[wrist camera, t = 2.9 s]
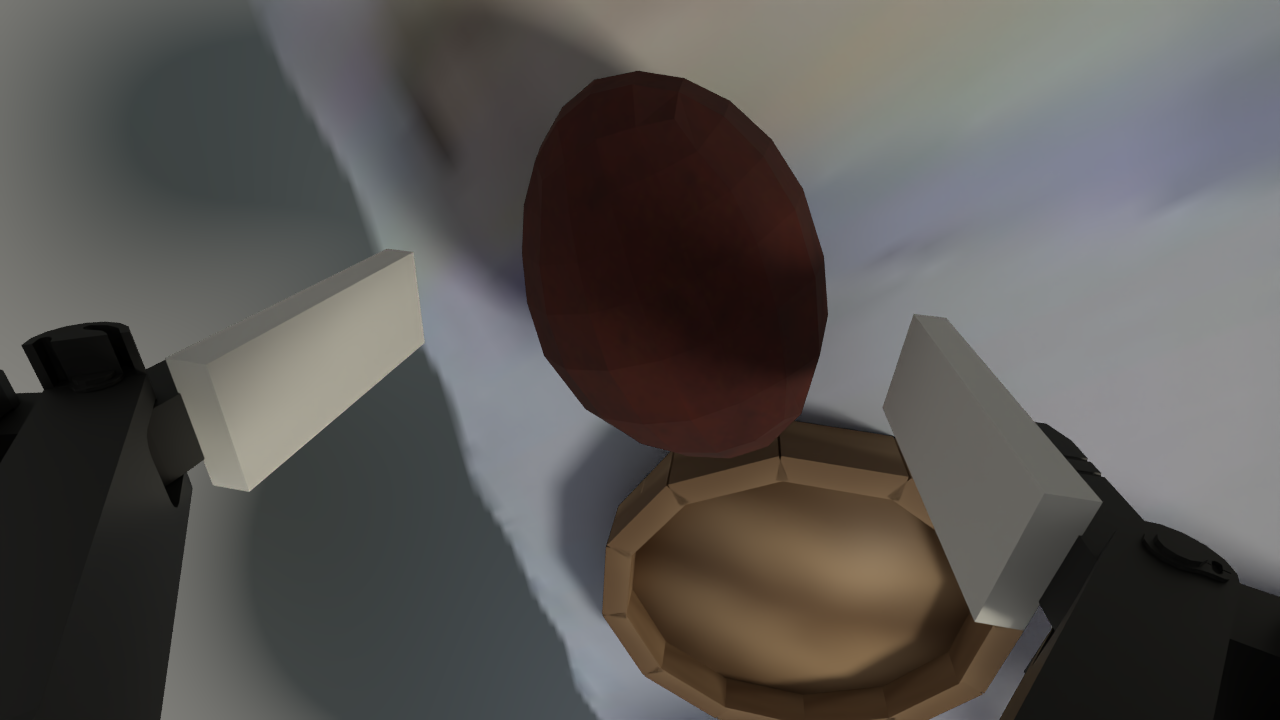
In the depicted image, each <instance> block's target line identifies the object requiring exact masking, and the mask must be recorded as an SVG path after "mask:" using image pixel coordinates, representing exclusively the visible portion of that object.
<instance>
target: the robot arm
mask: <svg viewBox="0 0 1280 720" xmlns="http://www.w3.org/2000/svg"><path fill="white" fill-rule="evenodd" d="M424 343H425V342H424V334H423V326H422V318H421V310H420V302H419V294H418V286H417V278H416V270H415V262H414V254H413V252H409V251H400V250H392V249H386V250H384V251H382V252H380V253H378V254H375V255H374V256H371V257H369V258H367V259H365V260H363V261H361V262H359V263H357V264H355V265H353V266H351V267H349V268H347V269H345V270H343V271H341V272H339V273H337V274H335V275H333V276H331V277H329V278H327V279H325V280H323V281H321V282H319V283H317V284H315V285H313V286H311V287H309V288H307V289H304V290H303V291H300V292H298V293H297V294H294V295H292V296H290V297H288V298H286V299H284V300H282V301H280V302H278V303H276V304H274V305H272V306H270V307H268V308H266V309H264V310H262V311H260V312H258V313H256V314H254V315H252V316H250V317H248V318H246V319H244V320H242V321H240V322H238V323H235V324H234V325H231V326H229V327H228V328H225V329H223V330H221V331H219V332H217V333H215V334H213V335H211V336H209V337H207V338H205V339H203V340H201V341H199V342H197V343H195V344H193V345H191V346H189V347H187V348H185V349H183V350H181V351H179V352H177V353H175V354H173V355H171V356H168V357H167V358H165V359H166V360H164V361H162V362H160V363H158V364H156V365H154V366H152V367H150V368H148V369H145V367H144V364H143V362H142V359H141V357H140V354H139V352H138V349H137V347H136V344H135V342H134V339H133V337H132V334H131V332H130V329H129V327H128V326H126V325H124V324H121V323H114V322H93V323H83V324H77V325H71V326H66V327H62V328H58V329H55V330H51V331H47V332H45V333H42V334H40V335H38V336H35V337H33V338H31V339H29V340H28V341H27V342H25V343H24V344H23V345H22V347H23V349H24V351H25V353H26V355H27V357H28V359H29V361H30V363H31V365H32V367H33V369H34V371H35V373H36V375H37V377H38V379H39V381H40V383H41V385H42V386H43V388H44V391H43V392H42V393H17V394H16V393H15V392H14V390H13V388H12V386H11V384H10V383H9V381H8V379H7V377H6V375H5V373H4V371H3V370H0V720H160V718H161V711H162V704H163V697H164V689H165V682H166V675H167V668H168V660H169V653H170V646H171V639H172V632H173V624H174V617H175V610H176V603H177V596H178V589H179V581H180V575H181V567H182V560H183V553H184V546H185V539H186V531H187V524H188V517H189V510H190V503H191V495H192V485H191V482H190V479H189V477H188V474H187V471H189V470H190V469H191V468H193V467H194V466H196V465H197V464H198V463H200V462H201V461H202V460H204V463H205V465H206V468H207V471H208V473H209V475H210V479H211V481H212V484H213V485H215V486H220V487H226V488H232V489H237V490H243V491H248V492H250V491H251V490H252V489H253V488H254V487H255V486H257V485H258V484H259V483H260V482H261V481H262V480H264V479H265V478H266V477H267V476H268V475H270V474H271V473H272V472H273V471H274V470H275V469H277V468H278V467H279V466H280V465H281V464H282V463H284V462H285V461H286V460H287V459H288V458H290V457H291V456H292V455H293V454H294V453H295V452H297V451H298V450H299V449H300V448H301V447H303V446H304V445H305V444H306V443H307V442H308V441H310V440H311V439H312V438H313V437H314V436H315V435H317V434H318V433H319V432H320V431H321V430H323V429H324V428H325V427H326V426H327V425H328V424H329V423H331V422H332V421H333V420H334V419H335V418H337V417H338V416H339V415H340V414H341V413H342V412H344V411H345V410H346V409H347V408H348V407H350V406H351V405H352V404H353V403H354V402H355V401H357V400H358V399H359V398H360V397H361V396H362V395H364V394H365V393H366V392H367V391H368V390H369V389H371V388H372V387H373V386H374V385H375V384H376V383H378V382H379V381H380V380H381V379H383V377H385V376H386V375H387V374H388V373H390V372H391V371H392V370H393V369H394V368H395V367H397V366H398V365H399V364H400V363H401V362H402V361H404V360H405V359H406V358H407V357H408V356H410V355H411V354H412V353H413V352H414V351H415V350H417V349H418V348H419V347H420V346H421V345H423V344H424ZM883 410H884V412H885V415H886V417H887V419H888V421H889V424H890V426H891V428H892V431H893V433H894V435H895V438H896V440H897V442H898V445H899V447H900V449H901V452H902V454H903V456H904V459H905V461H906V463H907V466H908V468H909V470H910V473H911V475H912V477H913V480H914V482H915V484H916V487H917V489H918V491H919V494H920V496H921V498H922V501H923V503H924V505H925V508H926V510H927V512H928V515H929V517H930V519H931V522H932V524H933V526H934V528H935V531H936V533H937V535H938V538H939V540H940V542H941V545H942V547H943V549H944V552H945V554H946V556H947V559H948V561H949V563H950V566H951V568H952V570H953V573H954V575H955V577H956V580H957V582H958V584H959V587H960V589H961V591H962V594H963V596H964V598H965V601H966V603H967V605H968V608H969V610H970V612H971V615H972V617H973V619H974V622H978V623H984V624H990V625H995V626H1001V627H1006V628H1012V629H1017V630H1023V631H1024V630H1025V628H1026V627H1027V625H1028V623H1029V622H1030V620H1031V618H1032V617H1033V615H1034V613H1035V612H1036V610H1037V609H1038V607H1039V605H1040V606H1041V607H1042V609H1043V611H1044V613H1045V614H1046V616H1047V618H1048V620H1049V622H1050V623H1051V625H1052V627H1053V628H1052V629H1051V631H1050V632H1049V634H1048V635H1047V637H1046V638H1045V640H1044V641H1043V643H1042V645H1041V646H1040V648H1039V649H1038V651H1037V652H1036V654H1035V655H1034V657H1033V658H1032V660H1031V662H1030V663H1029V665H1028V666H1027V668H1026V669H1025V671H1024V672H1025V675H1024V677H1023V679H1022V680H1021V682H1020V684H1019V686H1018V688H1017V689H1016V691H1015V693H1014V695H1013V696H1012V698H1011V700H1010V702H1009V704H1008V705H1007V707H1006V709H1005V711H1004V712H1003V714H1002V716H1001V718H1000V720H1280V597H1278V596H1275V595H1272V594H1269V593H1266V592H1263V591H1260V590H1257V589H1255V588H1252V587H1249V586H1246V585H1243V584H1240V583H1239V579H1238V575H1237V573H1236V572H1235V571H1234V570H1233V569H1232V568H1231V566H1230V565H1229V564H1228V563H1227V562H1226V561H1225V560H1224V559H1223V558H1222V557H1220V556H1219V555H1218V554H1216V553H1215V552H1214V551H1212V550H1211V549H1210V548H1208V547H1207V546H1206V545H1204V544H1202V543H1200V542H1199V541H1197V540H1195V539H1193V538H1191V537H1189V536H1188V535H1186V534H1184V533H1182V532H1179V531H1176V530H1174V529H1171V528H1169V527H1166V526H1163V525H1161V524H1156V523H1151V522H1147V521H1144V520H1143V519H1142V518H1141V517H1140V516H1139V515H1138V513H1137V512H1136V511H1135V510H1134V509H1133V508H1132V507H1131V506H1130V505H1129V504H1128V502H1127V501H1126V500H1125V499H1124V498H1123V497H1122V496H1121V495H1120V494H1119V493H1118V491H1117V490H1116V489H1115V488H1114V487H1113V486H1112V485H1111V484H1110V483H1109V482H1108V480H1107V479H1106V478H1105V477H1101V473H1100V472H1099V470H1098V469H1097V468H1096V467H1095V466H1094V465H1093V464H1092V463H1091V462H1087V459H1088V458H1087V457H1086V456H1085V455H1084V454H1083V453H1082V452H1081V451H1080V450H1079V448H1078V447H1077V446H1076V445H1075V444H1074V443H1073V442H1072V441H1071V440H1070V439H1068V438H1067V437H1065V436H1064V435H1062V434H1061V433H1059V432H1058V431H1056V430H1055V429H1053V428H1052V427H1050V426H1049V425H1047V424H1045V423H1038V422H1034V421H1033V420H1032V418H1031V417H1030V416H1029V415H1028V414H1027V412H1026V411H1025V410H1024V409H1023V408H1022V407H1021V405H1020V404H1019V403H1018V402H1017V401H1016V400H1015V398H1014V397H1013V396H1012V395H1011V394H1010V392H1009V391H1008V390H1007V389H1006V388H1005V387H1004V385H1003V384H1002V383H1001V382H1000V381H999V380H998V378H997V377H996V376H995V375H994V374H993V373H992V371H991V370H990V369H989V368H988V367H987V365H986V364H985V363H984V362H983V361H982V360H981V358H980V357H979V356H978V355H977V354H976V353H975V351H974V350H973V349H972V348H971V347H970V345H969V344H968V343H967V342H966V341H965V340H964V338H963V337H962V336H961V335H960V334H959V333H958V331H957V330H956V329H955V328H954V327H953V325H952V324H951V323H950V322H949V321H948V320H947V318H942V317H934V316H926V315H918V314H914V315H913V318H912V321H911V324H910V327H909V330H908V333H907V336H906V339H905V342H904V345H903V348H902V351H901V354H900V357H899V360H898V363H897V366H896V369H895V372H894V375H893V378H892V381H891V384H890V387H889V390H888V393H887V396H886V399H885V402H884V405H883Z"/></svg>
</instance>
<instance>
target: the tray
mask: <svg viewBox="0 0 1280 720" xmlns="http://www.w3.org/2000/svg"><path fill="white" fill-rule="evenodd" d="M602 614H603V617H604V618H605V620H606V621H607V623H608V624H609V626H610V627H611V628H612V630H613V631H614V633H615V634H616V636H617V637H618V639H619V640H620V642H621V643H622V645H623V646H624V647H625V649H626V650H627V652H628V653H629V655H630V656H631V658H632V659H633V661H634V662H635V664H636V665H637V666H638V668H639V669H640V671H641V672H642V674H643V675H645V677H647V678H649V679H650V680H652V681H654V682H655V683H657V684H659V685H660V686H662V687H664V688H665V689H667V690H669V691H670V692H672V693H674V694H676V695H677V696H679V697H681V698H682V699H684V700H686V701H687V702H689V703H691V704H692V705H694V706H696V707H697V708H699V709H701V710H702V711H704V712H706V713H707V714H709V715H711V716H712V717H714V718H716V717H717V719H719V720H929V719H931V718H933V717H935V716H937V715H939V714H942V713H944V712H946V711H948V710H950V709H952V708H954V707H957V706H959V705H961V704H963V703H965V702H967V701H969V700H971V699H974V698H976V697H978V696H980V695H982V693H985V691H986V690H987V688H988V687H989V685H990V683H991V682H992V680H993V679H994V677H995V676H996V674H997V672H998V671H999V669H1000V668H1001V666H1002V664H1003V663H1004V661H1005V660H1006V658H1007V657H1008V655H1009V653H1010V652H1011V650H1012V649H1013V647H1014V646H1015V644H1016V642H1017V641H1018V639H1019V638H1020V636H1021V634H1022V633H1023V630H1017V629H1012V628H1006V627H1001V626H995V625H990V624H984V623H978V622H974V619H973V617H972V615H971V612H970V610H969V608H968V605H967V603H966V601H965V598H964V596H963V594H962V591H961V589H960V587H959V584H958V582H957V580H956V577H955V575H954V573H953V570H952V568H951V566H950V563H949V561H948V559H947V556H946V554H945V552H944V549H943V547H942V545H941V542H940V540H939V538H938V535H937V533H936V531H935V528H934V526H933V524H932V522H931V519H930V517H929V515H928V512H927V510H926V508H925V505H924V503H923V501H922V498H921V496H920V494H919V491H918V489H917V487H916V484H915V482H914V480H913V477H912V475H911V473H910V470H909V468H908V466H907V463H906V461H905V459H904V456H903V454H902V452H901V449H900V447H899V445H898V442H897V440H896V438H895V439H894V437H893V436H887V435H881V434H875V433H868V432H862V431H855V430H849V429H842V428H836V427H830V426H823V425H817V424H810V423H804V422H798V421H793V422H792V423H791V424H790V425H789V426H788V427H787V428H786V429H785V430H784V431H783V432H782V433H781V434H780V435H779V436H778V437H777V438H776V439H775V440H774V441H773V442H772V443H771V444H770V445H769V446H767V447H764V448H761V449H758V450H755V451H752V452H749V453H746V454H743V455H739V456H736V457H733V458H711V457H691V456H685V455H682V454H678V453H675V452H670V453H669V454H668V455H667V456H666V457H665V458H664V459H663V460H662V461H661V462H660V463H659V464H658V465H657V466H656V467H655V468H654V469H653V471H652V472H651V473H650V474H649V475H648V476H647V477H646V478H645V479H644V480H643V481H642V482H641V483H640V484H639V485H638V486H637V487H636V488H635V489H634V490H633V491H632V493H631V494H630V495H629V496H628V497H627V498H626V499H625V500H624V501H623V502H622V503H621V504H620V505H619V507H618V509H617V512H616V516H615V519H614V522H613V526H612V529H611V532H610V536H609V539H608V542H607V545H606V556H605V574H604V592H603V609H602Z"/></svg>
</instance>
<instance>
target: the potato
mask: <svg viewBox="0 0 1280 720" xmlns="http://www.w3.org/2000/svg"><path fill="white" fill-rule="evenodd" d="M522 257H523V267H524V277H525V286H526V296H527V304H528V307H529V310H530V313H531V316H532V319H533V322H534V325H535V328H536V332H537V335H538V338H539V341H540V344H541V347H542V350H543V353H544V356H545V357H546V359H547V360H548V361H549V363H550V364H551V365H552V366H553V368H554V369H555V370H556V372H557V373H558V374H559V375H560V377H561V378H562V379H563V381H564V382H565V383H566V385H567V386H568V387H569V388H570V390H571V391H572V392H573V394H574V395H575V396H576V397H577V399H578V400H579V401H580V403H581V404H582V405H583V406H584V408H585V409H586V410H588V411H590V412H591V413H593V414H594V415H596V416H598V417H599V418H601V419H603V420H604V421H606V422H608V423H609V424H611V425H612V426H614V427H616V428H617V429H619V430H621V431H622V432H624V433H625V434H627V435H629V436H630V437H632V438H633V439H635V440H636V441H638V442H639V443H641V444H644V445H648V446H652V447H656V448H660V449H664V450H667V451H671V452H675V453H678V454H682V455H685V456H691V457H711V458H733V457H736V456H739V455H743V454H746V453H749V452H752V451H755V450H758V449H761V448H764V447H767V446H769V445H770V444H771V443H772V442H773V441H774V440H775V439H776V438H777V437H778V436H779V435H780V434H781V433H782V432H783V431H784V430H785V429H786V428H787V427H788V426H789V425H790V424H791V423H792V422H793V421H794V420H795V419H796V418H797V417H798V416H800V415H801V413H802V410H803V407H804V403H805V400H806V397H807V394H808V391H809V388H810V384H811V381H812V378H813V375H814V372H815V369H816V365H817V362H818V359H819V356H820V351H821V347H822V342H823V337H824V332H825V327H826V322H827V317H828V308H827V294H826V280H825V265H824V255H823V252H822V249H821V246H820V242H819V239H818V236H817V233H816V230H815V226H814V223H813V220H812V217H811V213H810V210H809V207H808V204H807V201H806V197H805V194H804V191H803V188H802V187H801V185H800V184H799V182H798V180H797V179H796V177H795V176H794V174H793V172H792V171H791V169H790V168H789V166H788V165H787V163H786V161H785V160H784V158H783V157H782V155H781V154H780V152H779V150H778V149H777V147H776V146H775V144H774V142H773V141H772V139H771V138H769V137H768V136H767V135H766V134H765V133H764V132H763V131H762V130H761V129H760V128H759V127H758V126H757V125H755V124H754V123H753V122H752V121H751V120H750V119H749V118H748V117H747V116H746V115H745V114H744V113H743V112H741V111H740V110H739V109H738V108H737V107H736V106H735V105H734V104H733V103H732V102H731V101H729V100H727V99H725V98H723V97H721V96H719V95H717V94H715V93H713V92H711V91H709V90H707V89H705V88H703V87H701V86H699V85H697V84H695V83H693V82H691V81H689V80H687V79H685V78H679V77H673V76H667V75H661V74H654V73H648V72H642V71H635V72H630V73H625V74H620V75H616V76H611V77H606V78H601V79H596V80H594V81H592V82H591V83H590V84H589V85H588V86H587V87H585V88H584V89H583V90H582V91H581V92H580V93H579V94H577V95H576V96H575V97H574V98H573V99H572V100H570V101H569V102H568V103H567V104H566V105H565V106H563V107H562V109H561V111H560V113H559V114H558V116H557V118H556V120H555V121H554V123H553V125H552V127H551V129H550V130H549V132H548V134H547V136H546V137H545V139H544V141H543V143H542V145H541V147H540V150H539V152H538V155H537V157H536V160H535V164H534V168H533V172H532V176H531V180H530V184H529V187H528V191H527V195H526V199H525V203H524V218H523V243H522Z"/></svg>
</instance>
